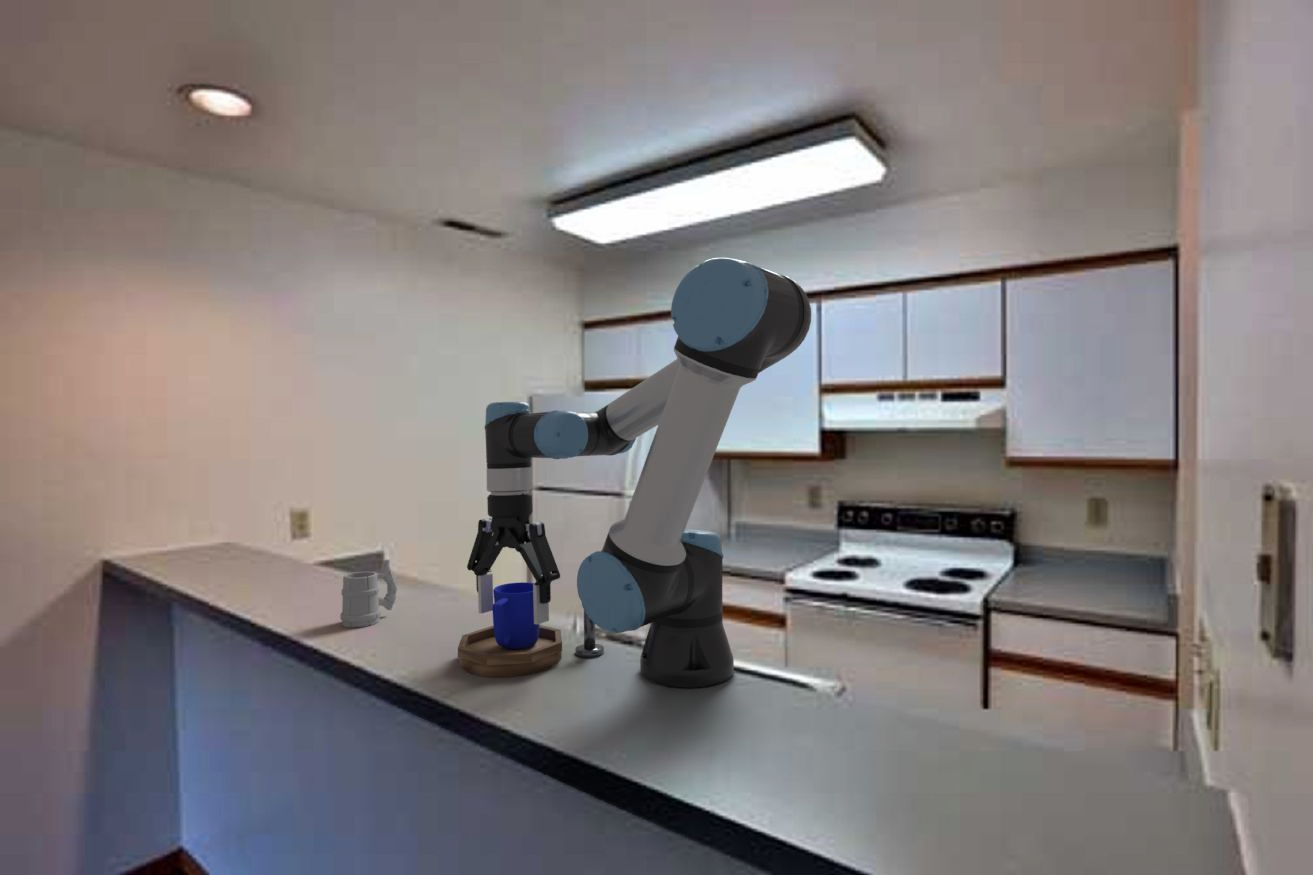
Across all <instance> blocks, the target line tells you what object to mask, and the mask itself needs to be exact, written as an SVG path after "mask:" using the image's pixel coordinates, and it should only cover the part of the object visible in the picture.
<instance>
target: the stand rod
mask: <svg viewBox="0 0 1313 875" xmlns="http://www.w3.org/2000/svg"><path fill="white" fill-rule="evenodd" d="M574 651H575V652H574V653H575V655H576V656H577V657H581V658H596V657H599V656H602V655H604V653H605V647H604V645H602V644H598V643H596V624H595V623H594V622H593V621H592V620H591V619H590V618H589V617H588V615H587V614H586V612H585V610H584V609H583V644H580V645H577V646H575V650H574Z"/></svg>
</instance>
